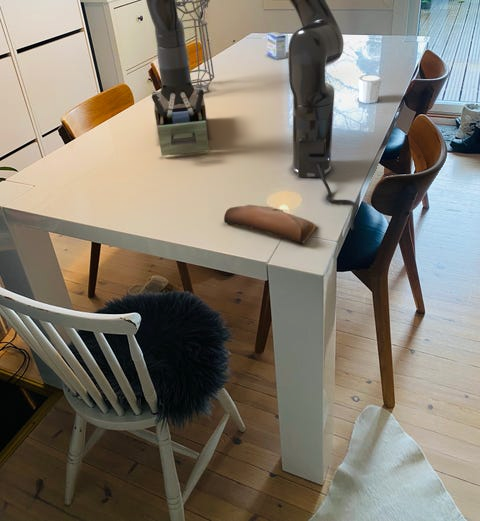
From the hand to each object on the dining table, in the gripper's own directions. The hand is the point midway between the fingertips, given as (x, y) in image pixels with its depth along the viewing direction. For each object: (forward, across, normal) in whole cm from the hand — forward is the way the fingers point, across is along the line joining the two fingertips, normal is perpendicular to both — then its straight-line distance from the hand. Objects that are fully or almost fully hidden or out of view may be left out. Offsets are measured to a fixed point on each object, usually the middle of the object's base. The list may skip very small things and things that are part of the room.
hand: (182, 128), depth 136 cm
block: (0, 0, 0) cm, 0 cm away
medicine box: (+6, +41, +80) cm, 90 cm away
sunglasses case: (+6, +16, -44) cm, 47 cm away
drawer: (+5, 0, 0) cm, 5 cm away
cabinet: (+6, 0, +12) cm, 13 cm away
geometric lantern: (+6, +5, +48) cm, 49 cm away
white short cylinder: (+6, +59, +21) cm, 63 cm away
